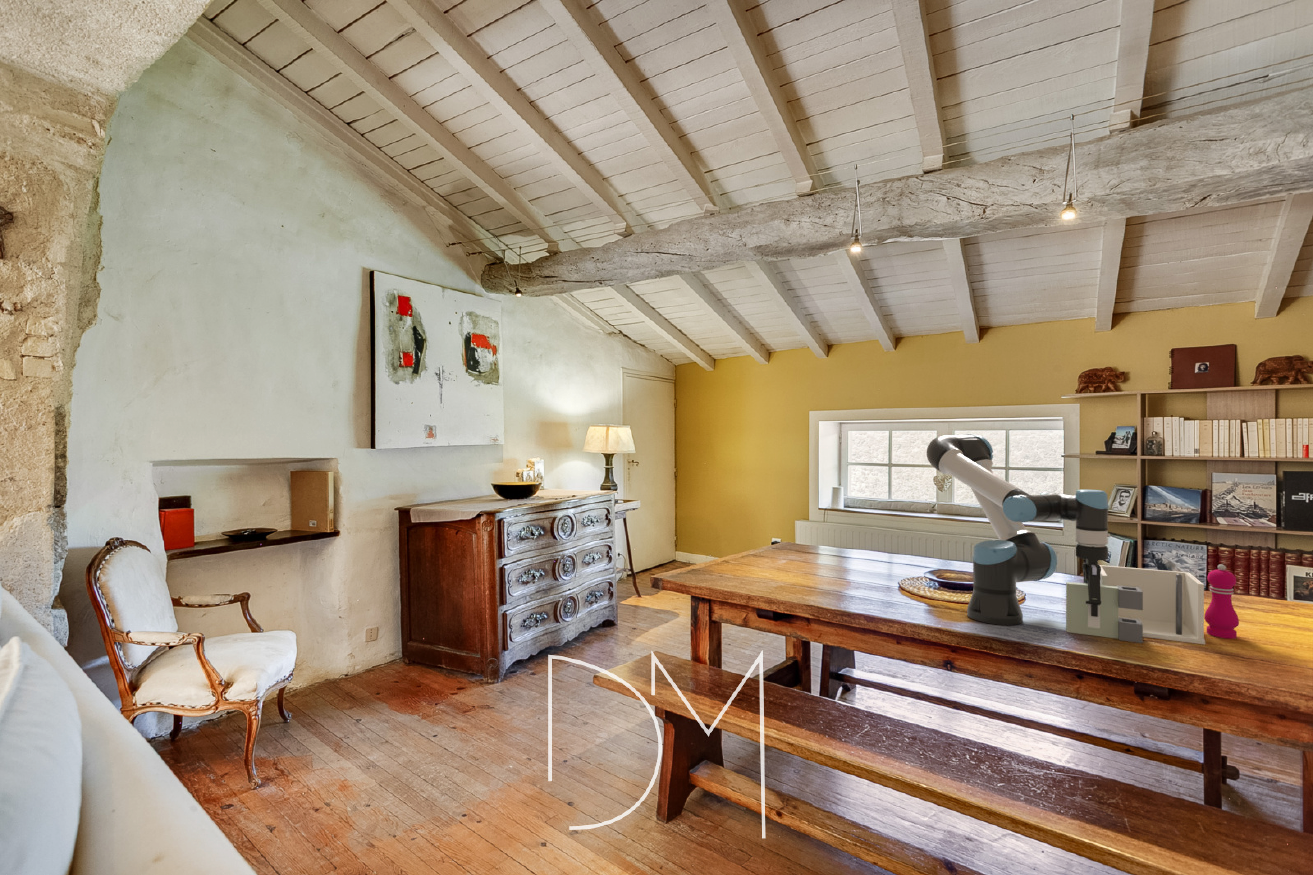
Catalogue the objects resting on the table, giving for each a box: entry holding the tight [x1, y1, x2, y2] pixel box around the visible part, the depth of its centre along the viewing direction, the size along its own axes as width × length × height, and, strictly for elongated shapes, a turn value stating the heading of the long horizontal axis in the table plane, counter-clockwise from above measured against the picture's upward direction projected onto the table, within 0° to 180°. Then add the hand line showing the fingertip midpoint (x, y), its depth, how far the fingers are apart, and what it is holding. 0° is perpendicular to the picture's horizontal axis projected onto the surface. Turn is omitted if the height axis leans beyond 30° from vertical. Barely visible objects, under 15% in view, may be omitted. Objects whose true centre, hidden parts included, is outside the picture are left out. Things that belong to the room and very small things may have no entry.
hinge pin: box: [1176, 574, 1182, 635], centre depth 173 cm, size 1×1×17 cm
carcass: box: [1099, 564, 1206, 645], centre depth 180 cm, size 23×16×16 cm
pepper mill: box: [1204, 563, 1240, 640], centre depth 175 cm, size 7×7×20 cm
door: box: [1065, 581, 1144, 644], centre depth 176 cm, size 17×5×14 cm, turn 60°
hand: (1091, 621), depth 177 cm, fingers open, 10 cm apart
